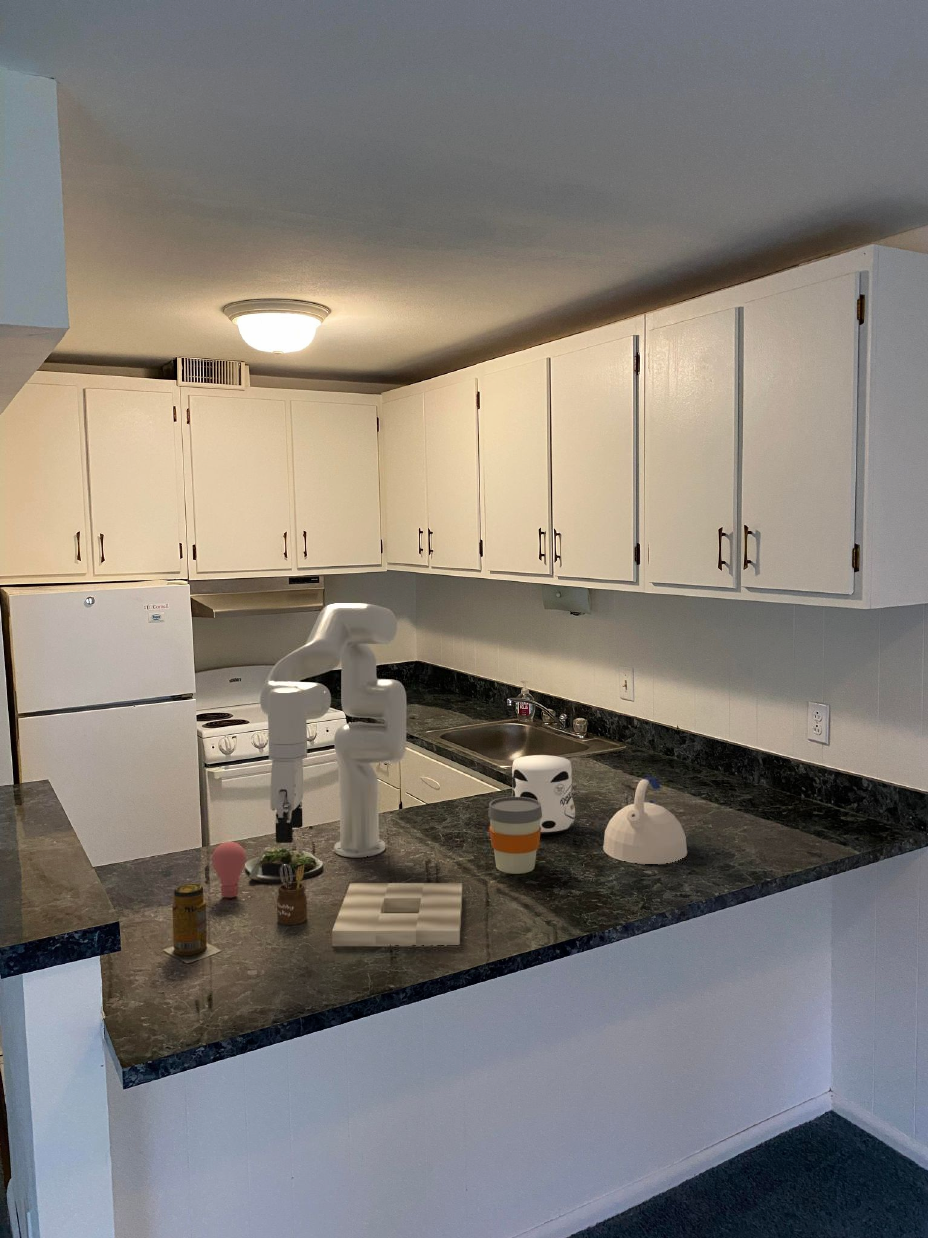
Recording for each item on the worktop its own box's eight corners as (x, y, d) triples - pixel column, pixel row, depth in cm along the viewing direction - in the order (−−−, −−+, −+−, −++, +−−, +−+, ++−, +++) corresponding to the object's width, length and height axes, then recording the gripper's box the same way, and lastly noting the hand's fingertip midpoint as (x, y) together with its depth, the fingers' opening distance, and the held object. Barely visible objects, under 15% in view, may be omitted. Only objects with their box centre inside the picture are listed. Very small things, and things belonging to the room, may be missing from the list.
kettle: (590, 858, 221) (590, 784, 219) (618, 833, 239) (618, 764, 237) (674, 871, 211) (675, 794, 210) (696, 844, 230) (697, 773, 228)
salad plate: (230, 864, 220) (230, 845, 219) (302, 850, 228) (301, 832, 228) (254, 890, 203) (253, 870, 202) (330, 875, 211) (330, 855, 211)
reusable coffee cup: (551, 863, 217) (551, 800, 216) (527, 880, 206) (527, 815, 205) (504, 854, 223) (503, 793, 222) (478, 870, 213) (478, 807, 211)
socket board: (350, 896, 198) (350, 883, 197) (462, 896, 197) (462, 883, 197) (332, 946, 174) (332, 931, 173) (459, 946, 173) (459, 931, 173)
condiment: (197, 938, 178) (195, 878, 177) (221, 951, 172) (219, 889, 171) (162, 951, 173) (160, 889, 171) (186, 965, 167) (184, 901, 166)
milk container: (587, 834, 238) (587, 766, 236) (526, 843, 231) (526, 773, 230) (556, 816, 254) (556, 751, 252) (498, 823, 247) (498, 757, 246)
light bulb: (233, 888, 203) (232, 835, 202) (254, 896, 199) (252, 841, 198) (206, 898, 198) (204, 843, 197) (226, 906, 193) (224, 850, 192)
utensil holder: (293, 911, 190) (292, 855, 189) (314, 919, 186) (312, 861, 185) (271, 921, 186) (269, 863, 185) (291, 929, 182) (289, 870, 181)
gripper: (278, 741, 191) (280, 822, 193) (258, 760, 174) (260, 848, 175) (314, 741, 191) (316, 822, 192) (298, 760, 174) (299, 848, 175)
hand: (289, 834), depth 184 cm, fingers open, 9 cm apart
